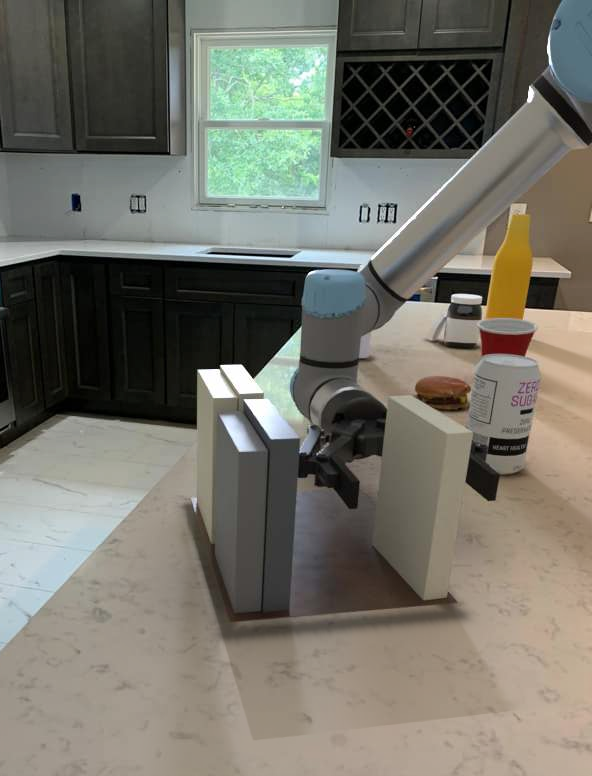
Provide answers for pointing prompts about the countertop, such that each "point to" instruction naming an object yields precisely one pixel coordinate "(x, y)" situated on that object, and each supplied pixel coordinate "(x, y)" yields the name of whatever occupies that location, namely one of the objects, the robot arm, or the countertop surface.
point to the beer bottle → (511, 272)
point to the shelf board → (331, 562)
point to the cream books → (216, 396)
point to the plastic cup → (505, 336)
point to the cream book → (421, 493)
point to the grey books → (256, 505)
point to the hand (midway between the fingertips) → (425, 491)
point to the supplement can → (504, 408)
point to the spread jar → (459, 322)
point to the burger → (443, 392)
